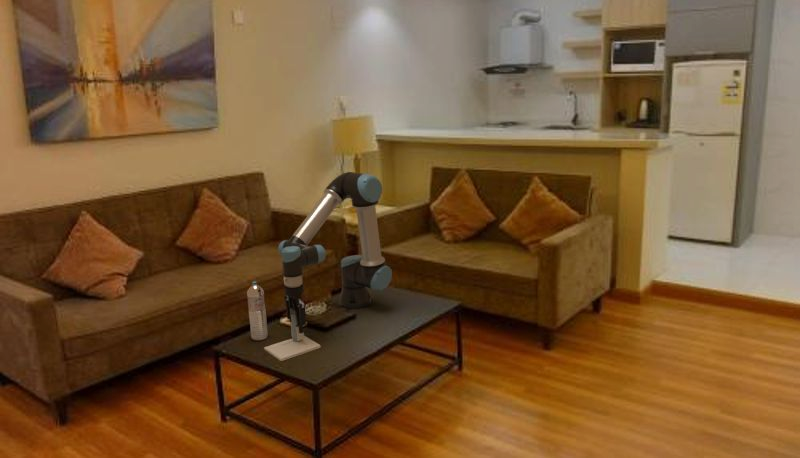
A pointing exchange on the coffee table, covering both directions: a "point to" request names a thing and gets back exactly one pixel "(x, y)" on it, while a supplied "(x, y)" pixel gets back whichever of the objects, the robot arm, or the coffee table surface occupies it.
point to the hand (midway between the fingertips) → (297, 337)
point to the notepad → (291, 348)
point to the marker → (294, 324)
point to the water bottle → (257, 312)
